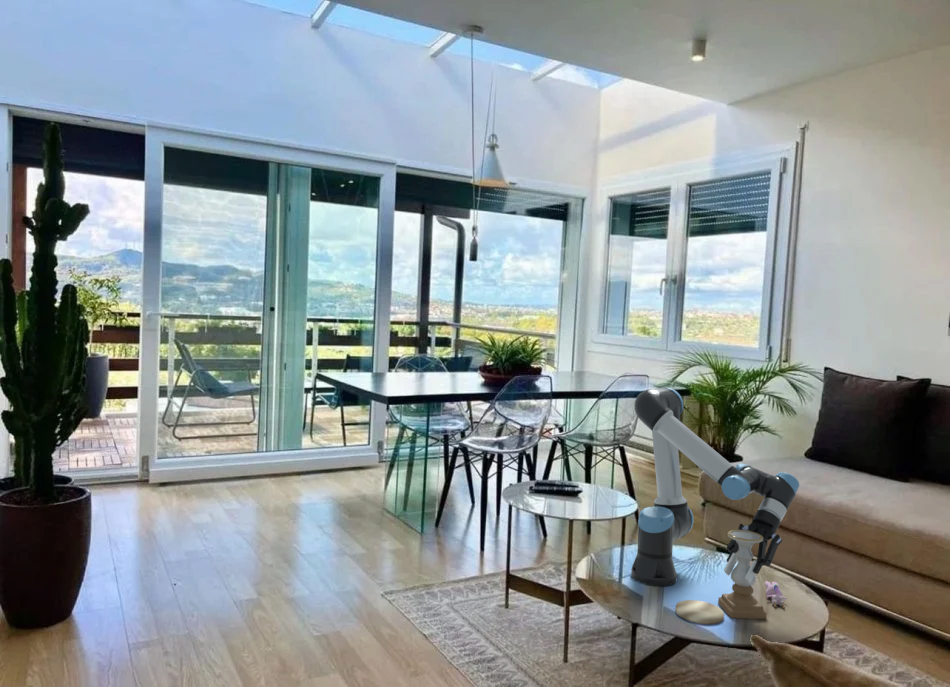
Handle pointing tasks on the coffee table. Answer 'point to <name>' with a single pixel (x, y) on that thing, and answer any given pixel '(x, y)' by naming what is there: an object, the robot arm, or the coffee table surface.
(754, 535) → the candle holder
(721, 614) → the hub disc
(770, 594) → the purple toy figure
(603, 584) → the coffee table surface
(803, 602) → the coffee table surface
